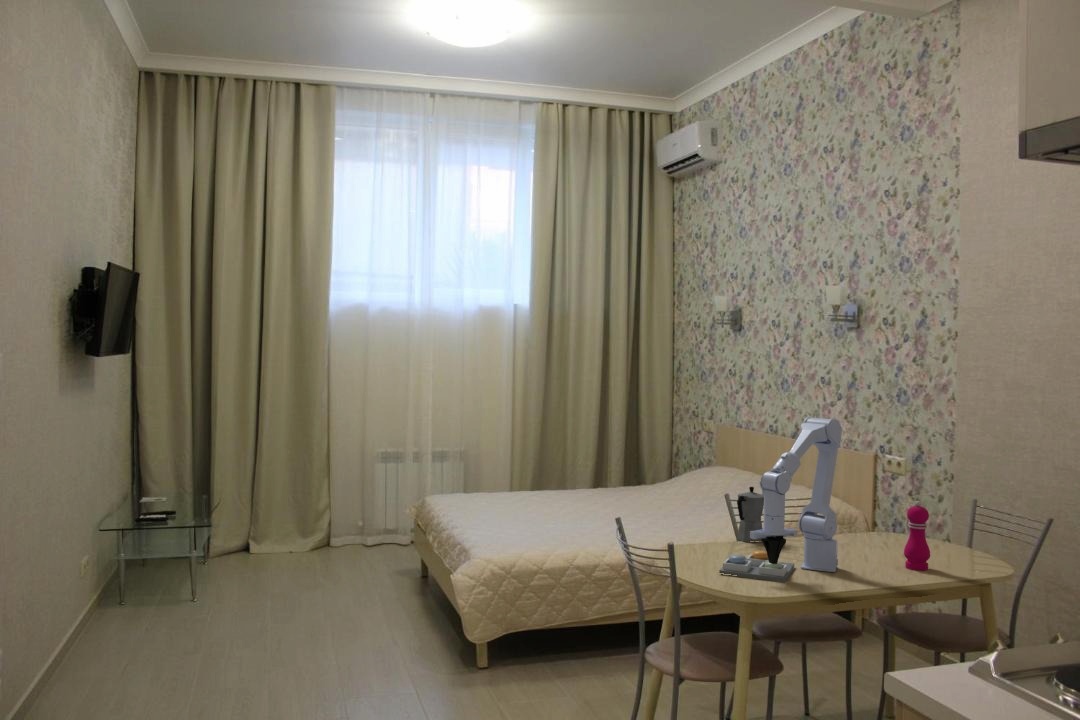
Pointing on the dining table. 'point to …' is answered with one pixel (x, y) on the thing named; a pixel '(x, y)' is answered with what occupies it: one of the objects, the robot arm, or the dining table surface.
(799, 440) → the robot arm
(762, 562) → the control board
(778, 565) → the button sage
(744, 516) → the coffeepot
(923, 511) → the pepper mill
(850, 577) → the dining table surface
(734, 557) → the button blue
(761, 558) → the button orange
